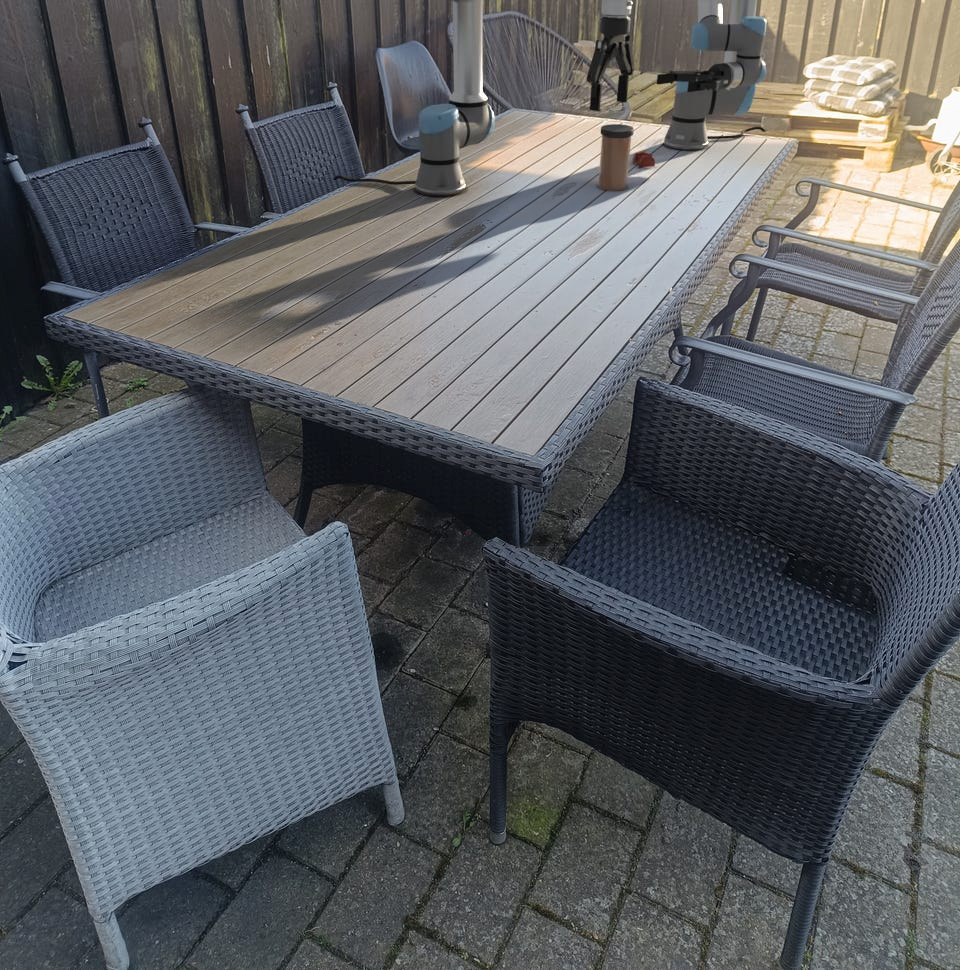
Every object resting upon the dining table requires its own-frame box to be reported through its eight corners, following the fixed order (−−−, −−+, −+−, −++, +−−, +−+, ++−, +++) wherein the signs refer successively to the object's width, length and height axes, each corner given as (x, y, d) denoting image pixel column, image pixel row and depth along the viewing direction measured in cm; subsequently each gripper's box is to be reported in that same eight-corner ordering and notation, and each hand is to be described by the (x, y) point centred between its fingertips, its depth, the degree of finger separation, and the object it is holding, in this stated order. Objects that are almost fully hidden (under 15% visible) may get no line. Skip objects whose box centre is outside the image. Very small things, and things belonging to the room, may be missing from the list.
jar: (600, 190, 258) (605, 133, 248) (596, 182, 265) (600, 126, 255) (628, 190, 258) (634, 132, 248) (623, 182, 265) (628, 125, 255)
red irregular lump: (647, 147, 282) (657, 154, 276) (646, 160, 284) (656, 167, 278) (631, 149, 281) (641, 155, 275) (630, 162, 283) (640, 169, 277)
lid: (603, 138, 248) (603, 132, 247) (598, 130, 256) (598, 124, 255) (636, 137, 248) (636, 131, 247) (629, 129, 256) (630, 123, 255)
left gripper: (602, 22, 204) (595, 116, 216) (653, 12, 219) (644, 100, 232) (576, 19, 207) (570, 112, 220) (628, 10, 223) (620, 96, 236)
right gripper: (751, 96, 257) (700, 104, 248) (694, 82, 274) (644, 89, 265) (756, 69, 252) (704, 76, 243) (697, 57, 269) (646, 63, 260)
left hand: (608, 106), depth 226 cm, fingers open, 13 cm apart
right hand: (672, 83), depth 254 cm, fingers open, 13 cm apart
